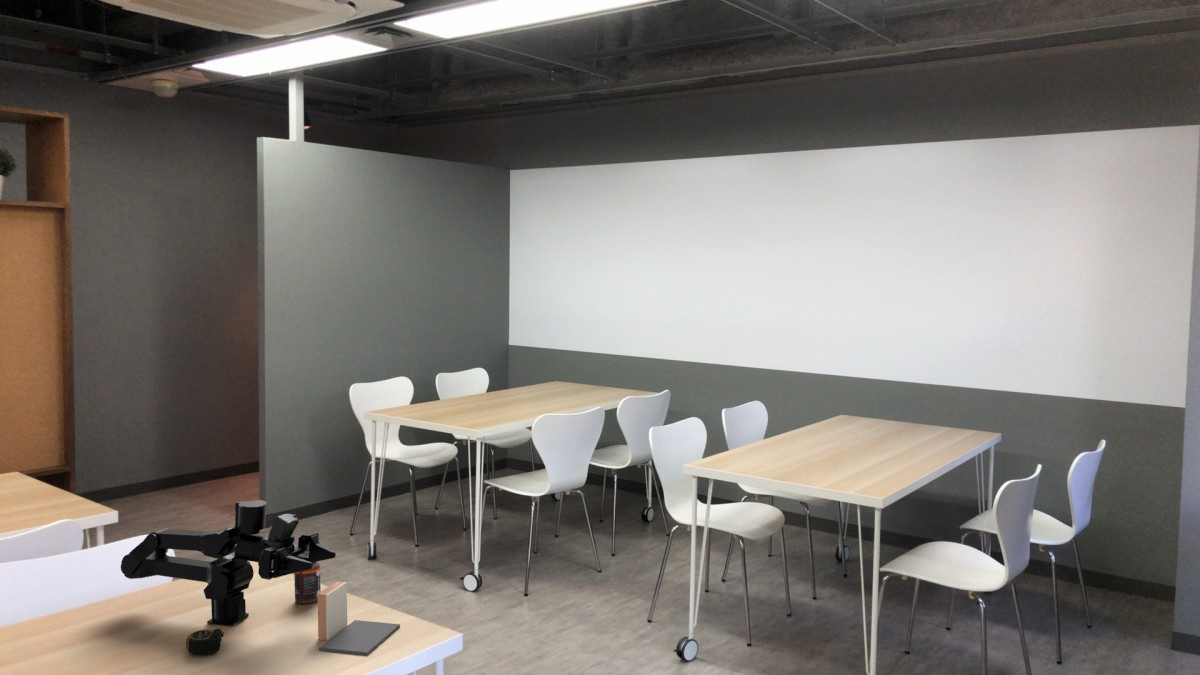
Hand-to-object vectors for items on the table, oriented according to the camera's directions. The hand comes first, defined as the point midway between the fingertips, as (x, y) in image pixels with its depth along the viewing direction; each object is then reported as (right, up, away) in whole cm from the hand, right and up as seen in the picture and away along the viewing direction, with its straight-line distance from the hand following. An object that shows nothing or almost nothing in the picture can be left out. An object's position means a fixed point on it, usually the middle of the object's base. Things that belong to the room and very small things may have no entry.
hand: (324, 560), depth 186 cm
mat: (+9, -16, -3) cm, 19 cm away
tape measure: (-21, -17, -9) cm, 29 cm away
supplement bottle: (-10, -15, +19) cm, 27 cm away
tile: (+2, -16, 0) cm, 16 cm away
